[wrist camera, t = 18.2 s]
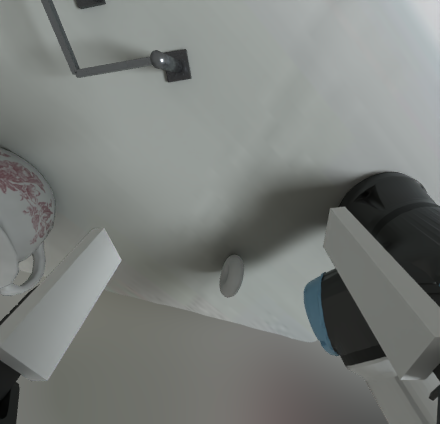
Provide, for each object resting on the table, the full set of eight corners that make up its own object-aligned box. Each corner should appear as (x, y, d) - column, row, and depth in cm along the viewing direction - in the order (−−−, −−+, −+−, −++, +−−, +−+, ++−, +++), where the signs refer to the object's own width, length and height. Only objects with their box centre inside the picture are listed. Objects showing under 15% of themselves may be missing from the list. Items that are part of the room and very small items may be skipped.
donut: (230, 273, 56) (230, 307, 47) (218, 270, 55) (216, 304, 47) (245, 248, 51) (248, 281, 42) (232, 244, 50) (232, 277, 42)
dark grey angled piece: (168, -53, 25) (135, -127, 16) (191, 78, 32) (176, 76, 23) (68, -29, 26) (-13, -86, 18) (111, 91, 34) (68, 93, 25)
